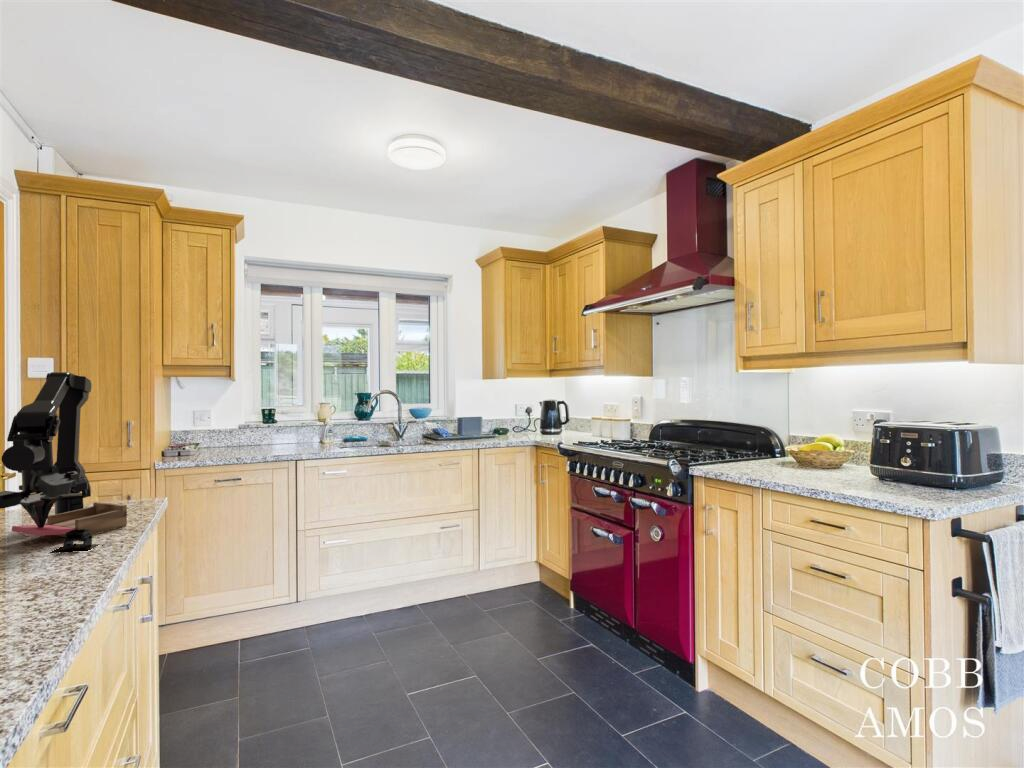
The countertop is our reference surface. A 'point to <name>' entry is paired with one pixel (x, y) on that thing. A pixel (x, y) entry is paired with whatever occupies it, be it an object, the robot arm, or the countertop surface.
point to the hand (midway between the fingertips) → (40, 527)
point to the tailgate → (41, 530)
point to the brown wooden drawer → (92, 518)
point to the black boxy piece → (77, 536)
